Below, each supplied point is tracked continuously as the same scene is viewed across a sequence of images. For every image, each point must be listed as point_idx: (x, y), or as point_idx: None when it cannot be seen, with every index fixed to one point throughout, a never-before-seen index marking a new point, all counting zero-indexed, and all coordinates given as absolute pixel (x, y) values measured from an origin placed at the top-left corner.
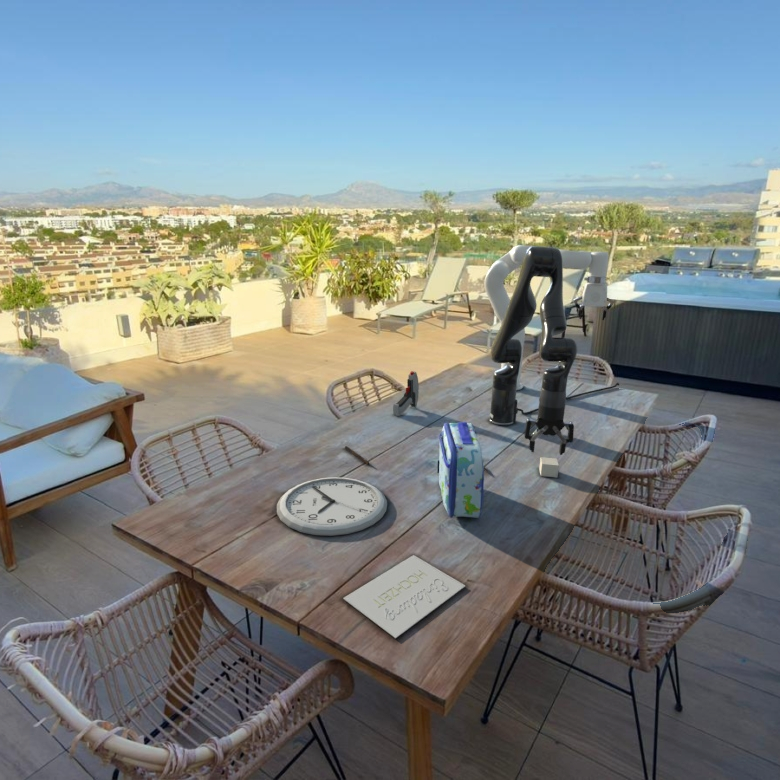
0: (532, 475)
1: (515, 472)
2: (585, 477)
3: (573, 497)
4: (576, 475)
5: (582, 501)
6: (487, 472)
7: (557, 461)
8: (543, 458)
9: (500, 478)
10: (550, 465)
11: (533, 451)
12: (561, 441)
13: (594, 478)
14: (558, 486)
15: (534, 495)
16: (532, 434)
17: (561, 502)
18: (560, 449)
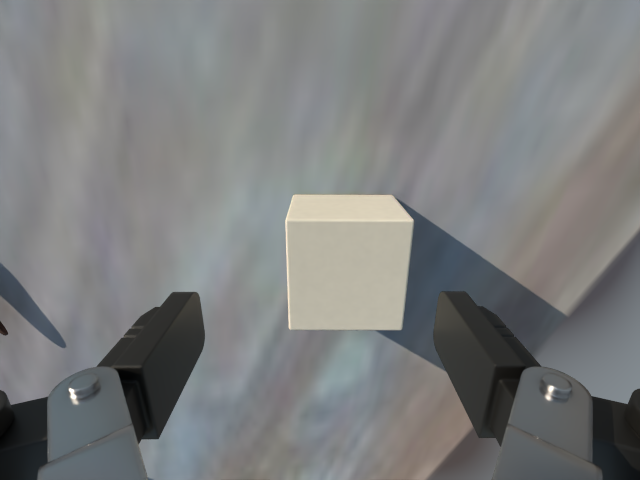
0: (251, 284)
1: (155, 267)
2: (549, 248)
3: (417, 437)
4: (505, 234)
5: (445, 456)
6: (4, 332)
7: (407, 271)
8: (306, 242)
9: (92, 346)
10: (346, 328)
11: (197, 349)
12: (503, 394)
13: (598, 250)
14: (372, 367)
15: (258, 450)
16: (59, 445)
17: (360, 474)
18: (451, 362)
